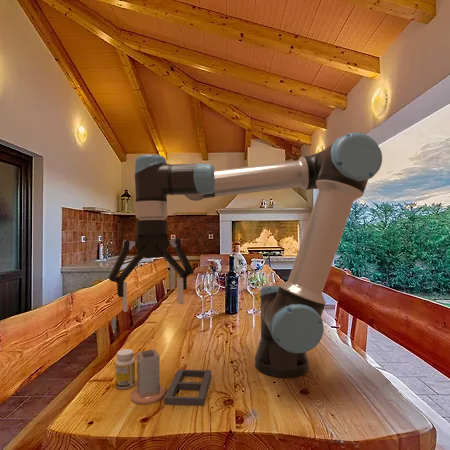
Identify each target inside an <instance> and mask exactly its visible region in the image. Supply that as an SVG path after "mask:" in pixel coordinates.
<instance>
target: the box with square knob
mask: <svg viewBox="0 0 450 450" xmlns="http://www.w3.org/2000/svg"><path fill="white" fill-rule="evenodd" d="M160 360H161V359H160V354H159V352H158V351H157V350H156V349H155V348H154V349H148V350H142V351H137V352H136V387H137V391H138V394H139V396H140V398H144V397H148V396H153V395H157V394H160V385H161V383H160V382H161V380H160V379H161V378H160V377H161V375H160V374H161V373H160V372H161V370H160V366H161V365H160Z"/></svg>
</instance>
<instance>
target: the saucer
mask: <svg viewBox="0 0 450 450" xmlns="http://www.w3.org/2000/svg"><path fill="white" fill-rule="evenodd" d="M165 389H166V388H165V387H164V386H163V385H161V384H160V394H157V395H153V396H148V397H144V398H140V396H139V394H138V391H137V386H136V387H134V388H133V389H132V390H131V391H130V401H131V402H133V403H134V404H136V405H150V404H154V403H157V402H159V401H160V400H162V399H164V397H165V395H166V390H165Z"/></svg>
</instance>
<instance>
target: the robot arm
mask: <svg viewBox="0 0 450 450" xmlns="http://www.w3.org/2000/svg"><path fill="white" fill-rule="evenodd" d="M382 163H383V153H382V150H381V148H380V146H379V145H378V143H377V142H376V140H375V139H373V137H371V136H370V135H368V134H366V133H362V132H349V133H347V134H345V135H341V136H339V137H338V138H336V140H334V142H333V143H330V145H329V146H327V147H326V148H324V149H323V150H321V151H319V152H317V153H314V154H311V155H306V156H305V155H304V156H303V155H302V156H300V157H299V158H298V159H297V160H292V161H285V162H277V163H269V164H268V163H267V164H259V165H252V166H251V165H250V166H243V167H241V166H240V167H235V168H227V169H226V168H225V169H216V170H215V167H214V165H213V164H211V163H202V162H198V163H179V164H178V163H177V164H176V163H175V164H171V163H167V159H166V158H165V157H164V156H163V155H159V154H143V155H139V156H138V157H136V159H135V163H134V164H135V165H134V168H135V169H134V174H133V175H134V176H133V177H134V186H135V218H136V219H138V220H136V222H135V233H136V234H135V236H136V237H135V240H134V241H133V240H129V239H125V240H123V241H122V245H121V251H120V253H119V255H118V257H117V259H116V261H115V263H114V265H113V267H112V269H111V271H110V273H109V276H108V280H109V281H110V282H114V283H116V288H117V289H116V290H117V291H116V292H117V293H116V294H117V296H118V297H119V298H121V301H122V302H121V303H122V304H121V305H122V307H121V308H122V311H123V312H124V313H126V312H128V311H129V310H128V283H127V282H126V281H125V280H127V278H129V275H130V274H131V273H132V272H133V270H134V269H135V268H136V267H137V265H138V264H139V263H140V261H142V259H143V258H145V259H152V258H161V257H162V258H164V260H166V262H167V263H168V264H169V265H170V266H171V267H172V269H174V271H176V273H177V274H178V275H179V276H176V299H177V303H178V304H179V305H184V304H185V301H184V300H185V298H184V297H185V296H184V291H185V290H187V288H188V287H187V286H188V285H187V283H188V281H187V279H188V277H189V275H193V274H194V273H195V272H194V271H195V270H193V267H192V265H191V262H190V261H189V259H188V256H187V255H186V253H185V251H184V249H183V247H182V243H181V242H182V241H181V239H180V238H178V237H177V238H173V239H169V234H168V233H169V230H168V229H169V228H168V227H169V225H168V221H167V220H166V218H168V199H167V197H168V196H177V195H178V196H180V195H181V196H185V197H186V198H188V200H190V201H196V202H197V201H201V200H203V199H211V198H218V197H226V196H233V195H235V196H236V195H244V194H252V193H261V192H269V191H270V192H271V191H278V190H287V189H294V188H300V189H301V190H303V191H306V190H307V191H309V190H318V193H317V196H316V200H315V201H314V205H313V208H312V211H311V214H310V216H309V220H308V222H307V225H306V228H305V231H304V232H303V233H304V234H303V237H302V239H301V242H300V246H299V248H298V251H297V254H296V257H295V259H294V262H293V265H292V268H291V270H290V273H289V277H288V280H287V281H285V282H283V283H281V284H279V285H265V286H262V287H261V288H260V295H259V300H260V339H259V342H258V346H257V349H256V352H255V355H254V356H255V357H254V365H255V368H256V369H257V370H258V371H259V372H261V373H262V374H265V375H268V376H271V377H275V378H295V377H300V376H302V375H304V374H306V373H307V372H308V371H309V357H308V354H307V352H309V351H311V350H313V349H315V348H316V347H317V346H318V345H319V343H320V342H321V340H322V339H323V336H324V330H325V328H324V323H323V319H322V315H323V312H324V309H325V306H326V302H327V301H326V300H325V298H324V296H323V292H324V289H325V286H326V282H327V280H328V277H329V274H330V271H331V268H332V265H333V264H334V261H335V260H334V259H335V257H336V254H337V250H338V248H339V244H340V243H341V242H340V241H341V239H342V236H343V233H344V231H345V227H346V224H347V221H348V219H349V216H350V213H351V210H352V207H353V205H354V202H355V201H356V200H358V199H361V198H362V197H363V196H364V194H365V190H366V187H367V184H368V182H369V180H370V179H372V178H374V177H375V175H377V174H378V172H379V171H380V168H381V167H382ZM170 245H171V246H170ZM169 246H170V247H171V248H174V251H175V253H176V255H177V257H178V259H179V260H180V262H181V264H182V266H183V267H182V266H181V265H180V264H179V263H178V261H176V259H174V257H173V256H172V255H171V254H170V252H169V251H168V250H167V249H168V248H169ZM133 247H135V249H136V250H137V252H136V254H135V255H133V258H132V259H131V260H130V262H129V263H128V264H127V265H126V267H124V269H123V270H122V272H121V273H120V271H121V268H122V266H123V265H124V262H125V260H126V258H127V256H128V253H129V251H131V250H132V249H133ZM119 273H120V274H119Z"/></svg>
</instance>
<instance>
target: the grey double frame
mask: <svg viewBox="0 0 450 450" xmlns="http://www.w3.org/2000/svg"><path fill="white" fill-rule="evenodd" d="M185 377H188V378H189V377H193V378H202V381H183V378H185ZM211 378H212V370H211V369H209V370H208V369H178V370H177V371H176V374H175V375H174V377H173V380H172V382H171V383H170V385H169V387H168V389H167V391H166V392H165V395H164V397H163V402H164V406H165V405H170V406H171V405H173V406H200V407H204V405H205V401H206V398H207V395H208V389H209V387H210V382H211ZM178 390H180V391H198V394H197V396H176V394H177V392H178Z"/></svg>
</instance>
